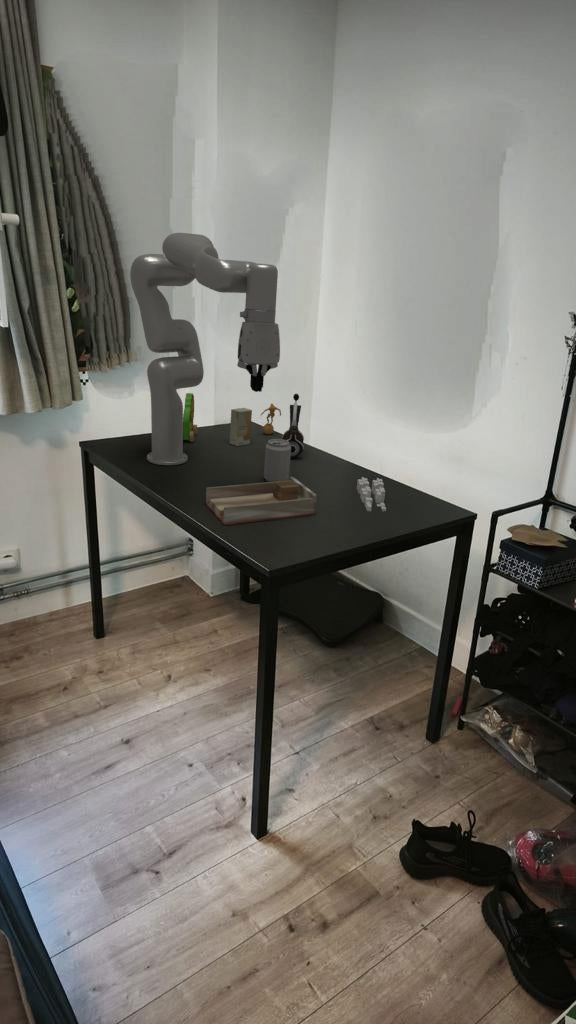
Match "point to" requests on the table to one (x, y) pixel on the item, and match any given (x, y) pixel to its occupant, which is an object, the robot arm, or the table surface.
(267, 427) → the figurine
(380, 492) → the modular blocks
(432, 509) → the table surface
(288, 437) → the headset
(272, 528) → the table surface
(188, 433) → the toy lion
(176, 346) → the robot arm
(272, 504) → the trap box
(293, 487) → the walnut block
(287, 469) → the can
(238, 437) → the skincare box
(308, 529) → the table surface
